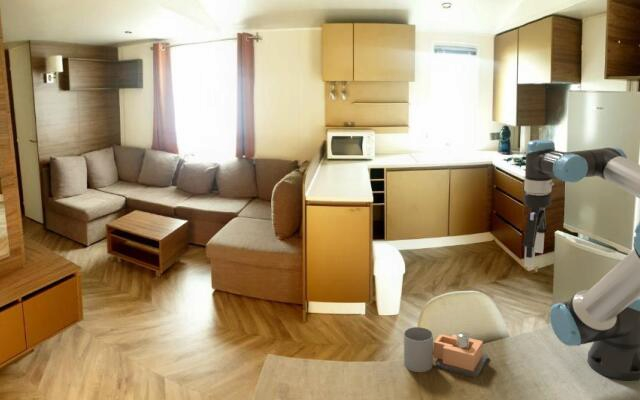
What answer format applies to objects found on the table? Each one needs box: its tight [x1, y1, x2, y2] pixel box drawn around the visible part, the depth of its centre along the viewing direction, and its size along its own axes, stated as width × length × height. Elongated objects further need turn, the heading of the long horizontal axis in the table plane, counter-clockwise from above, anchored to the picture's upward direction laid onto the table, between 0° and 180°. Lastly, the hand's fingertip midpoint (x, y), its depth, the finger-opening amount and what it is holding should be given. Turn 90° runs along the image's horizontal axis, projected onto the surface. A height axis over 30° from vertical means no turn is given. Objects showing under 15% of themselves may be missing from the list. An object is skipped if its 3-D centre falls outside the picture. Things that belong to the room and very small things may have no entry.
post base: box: [435, 331, 489, 379], centre depth 158 cm, size 12×12×9 cm
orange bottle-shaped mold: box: [433, 333, 484, 371], centre depth 160 cm, size 12×9×5 cm
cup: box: [403, 326, 434, 373], centre depth 158 cm, size 8×8×10 cm
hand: (533, 259), depth 165 cm, fingers open, 13 cm apart
